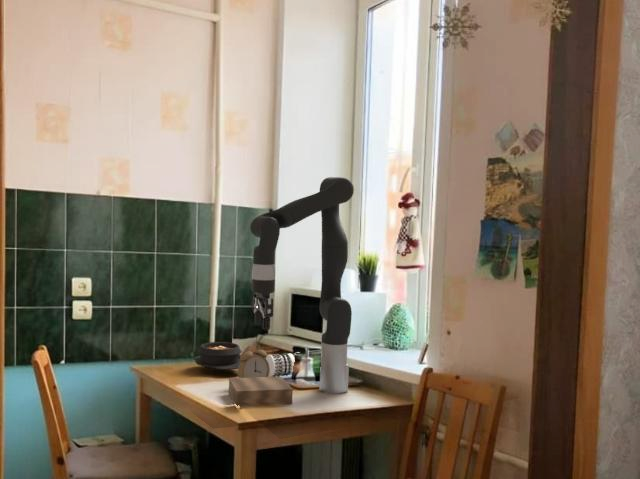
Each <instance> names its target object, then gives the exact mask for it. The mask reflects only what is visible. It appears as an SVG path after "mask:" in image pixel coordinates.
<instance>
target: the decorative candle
mask: <svg viewBox="0 0 640 479" xmlns="http://www.w3.org/2000/svg"><path fill="white" fill-rule="evenodd" d="M296 353H300V352H299V351H297V352H296ZM296 353H290V352H289V353H286V352H284V353H275V354H274V353H272V354H267V358H266V357H265V359H266V360H267V361H268V363H269V368H270V371H269V376H268V377H285V376H286V377H288V376H289V375H293V374H292V372H293V366H294V362H295V355H296Z"/></svg>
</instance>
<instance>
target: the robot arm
mask: <svg viewBox="0 0 640 479" xmlns="http://www.w3.org/2000/svg"><path fill="white" fill-rule="evenodd" d="M354 191H355V187H354V184H353V182H352V181H351V180H350V179H349V178H347V177H344V176H331V177H326V178H324V179H323V180H322V181H321V182H320V186H319V191H318V192H316V193H313V194H311V195H308V196H307V195H306V196H305V197H301V198H299V199H295V200H293V201H291V202H288V203H286V204H285V205H283V206H281V207H279V208H277V209H274V210H272V211H267V212H266V213H262V214H260V215H258V216H257V217H255V218H253V219H252V221H251V223H250V226H249V227H250V228H249V230H250V232H251V234H252V235H253V236H254V237H256V238H259V242H258V245H257V246H255V247H254V248H253V252H252V253H253V256H252V258H253V260H252V268H251V292H252V307H251V309H252V311H253V314H254V325H255V326H261V325H262V329H263V330H264V331H268V330H270V329H271V318H273V317H274V297H270V294H273V293H275V291H276V290H275V289H276V287H275V286H276V266H275V265H276V264H275V263H276V262H275V260H276V258H275V257H276V255H275V254H276V250H277V246H278V243H279V238H280V233H281V232H280V231H281V229H287V228H290V227H292V226H294V225H295V224H297V223H299V222H301V221H303V220H305V219H306V218H309V217H310V216H313V215H315V214H316V213H319V212H321V286H320V287H321V290H320V300H319V313H320V316H321V317H322V319H323V320H325V321H326V329H325V332H323V333H322V334H321V343H320V344H321V346H320V347H321V350H320V351H321V367H320V372H319V391H320V392H321V393H324V394H333V395H337V394H338V395H339V394H343V393H348V392H349V371H350V370H349V369H350V366H349V364H348V362H347V361H348V340H349V338H350V335H351V330H352V329H351V328H352V315H353V314H352V307H351V304H350V302H349V301H348V300H346V299H344V298H342V292H341V291H342V290H341V288H342V287H341V285H342V284H341V283H342V279H343V275H344V272H345V271H346V270H345V269H346V267H347V263H348V258H349V256H348V254H349V251H348V250H349V249H348V248H349V244H348V238H347V237H348V236H347V235H346V231H345V229H344V227H343V225H342V222H341V219H340V205H342V204H345V203H347V202H349V201H350V199H352V197H353V195H354Z"/></svg>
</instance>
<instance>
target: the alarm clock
mask: <svg viewBox="0 0 640 479" xmlns="http://www.w3.org/2000/svg"><path fill="white" fill-rule="evenodd" d="M251 346H256V347H258V349H256V350H254V352H252V351H250V350H249V348H251ZM267 355H268V353H267V352H266V351H265V349H264V348H262V347H261V345H259V344H257V343H251V344H249V345H248V346H247V347H246V348H245V349H244V350H243V351H242V352H241V353H240V355H239V359H241V362H240V364H239V366H238V369H237V375H238V376H237V377H238V378H252V377H269V371H270V368H269V363H268V361H267V360H266V358H267Z"/></svg>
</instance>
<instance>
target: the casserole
mask: <svg viewBox="0 0 640 479" xmlns="http://www.w3.org/2000/svg"><path fill="white" fill-rule="evenodd" d="M197 352H198V354H199V355H198V356H193V360H194V361H195V364H196V365H198V366H201V367H204V368H205V369H209V370H217V371H219V370H223V371H228V370H238V366H239V364H240V362H241V359H240V355H241V354H242V353H243V351H242V349H241V348H240V345H239V344H237V343H234V342H233V343H232V342H226V341H214V342H213V341H210V342H205V343H202V344H201V345H200V347H199V349H198V350H197Z"/></svg>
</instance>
